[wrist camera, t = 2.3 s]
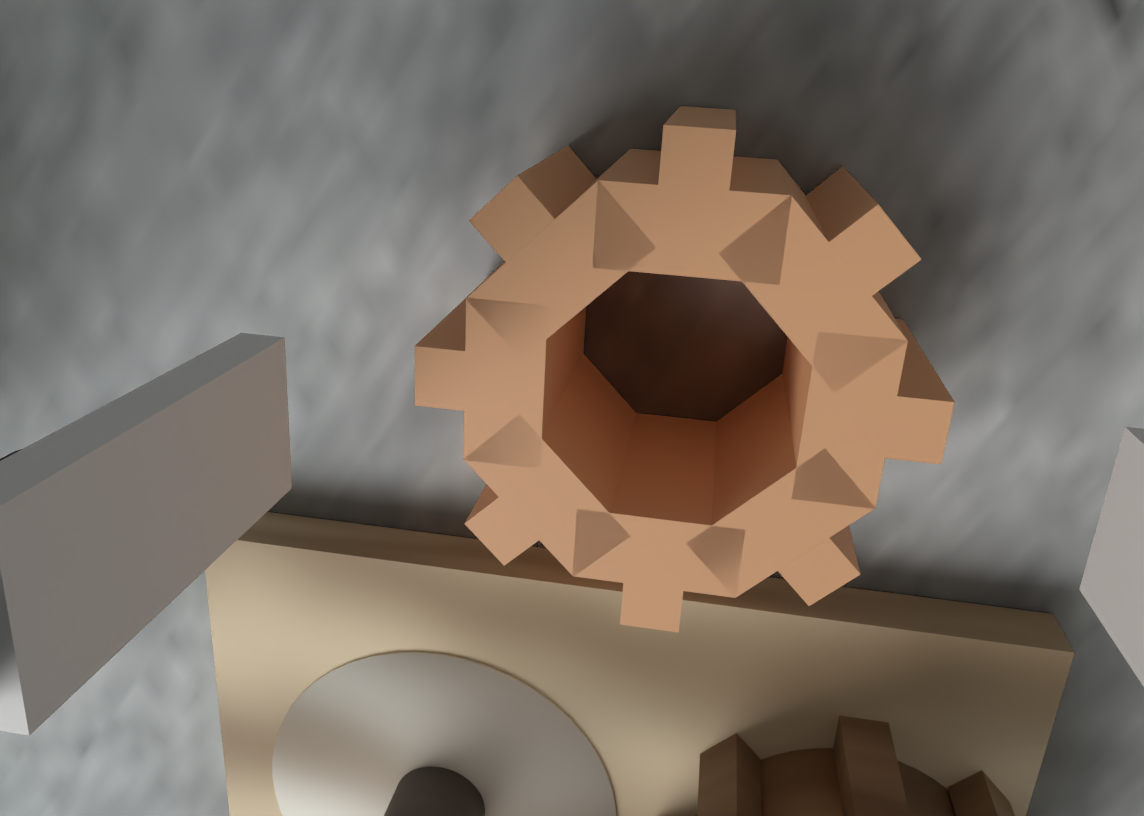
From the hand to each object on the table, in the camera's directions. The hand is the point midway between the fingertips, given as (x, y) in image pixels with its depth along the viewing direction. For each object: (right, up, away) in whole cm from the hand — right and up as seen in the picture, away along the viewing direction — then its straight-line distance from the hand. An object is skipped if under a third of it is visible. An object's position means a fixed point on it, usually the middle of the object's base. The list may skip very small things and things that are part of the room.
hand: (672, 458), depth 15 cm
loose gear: (+1, +3, +6) cm, 6 cm away
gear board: (-1, -9, +10) cm, 14 cm away
